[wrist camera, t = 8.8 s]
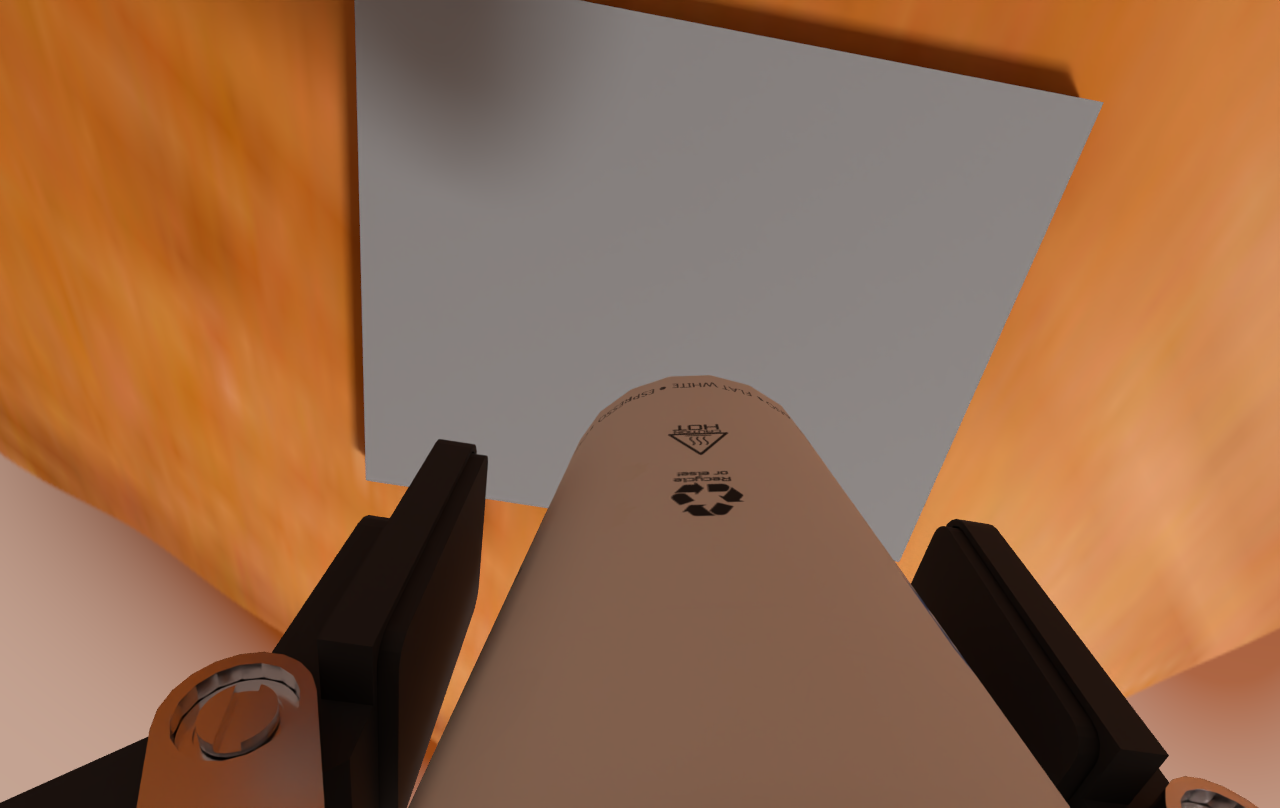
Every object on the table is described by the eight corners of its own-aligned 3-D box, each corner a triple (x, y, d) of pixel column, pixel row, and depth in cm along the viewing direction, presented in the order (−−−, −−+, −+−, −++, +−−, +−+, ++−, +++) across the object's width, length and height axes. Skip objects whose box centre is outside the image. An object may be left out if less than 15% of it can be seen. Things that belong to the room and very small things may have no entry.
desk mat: (1081, 101, 18) (1103, 102, 18) (890, 544, 26) (899, 561, 25) (368, -38, 17) (353, -44, 16) (376, 465, 25) (365, 480, 24)
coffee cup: (461, 554, 13) (61, 1538, 4) (591, 240, 10) (198, 1232, 1) (763, 660, 14) (940, 1611, 5) (955, 404, 12) (1995, 1528, 3)
